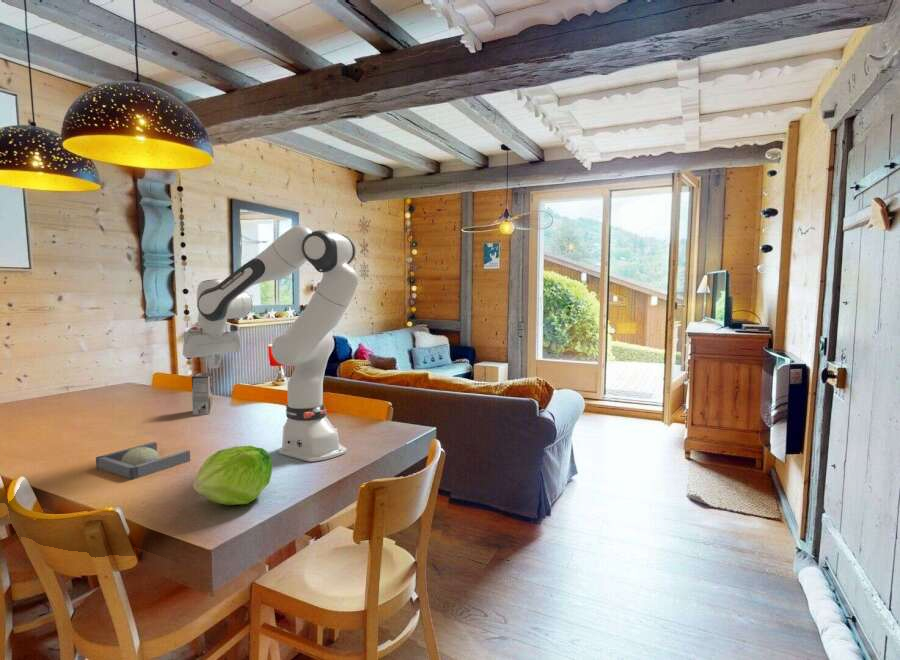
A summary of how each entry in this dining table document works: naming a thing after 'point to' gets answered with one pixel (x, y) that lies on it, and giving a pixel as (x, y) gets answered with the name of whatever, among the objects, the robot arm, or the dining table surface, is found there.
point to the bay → (130, 471)
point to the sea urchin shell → (140, 456)
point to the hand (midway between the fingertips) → (214, 368)
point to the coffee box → (202, 393)
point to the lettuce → (234, 475)
